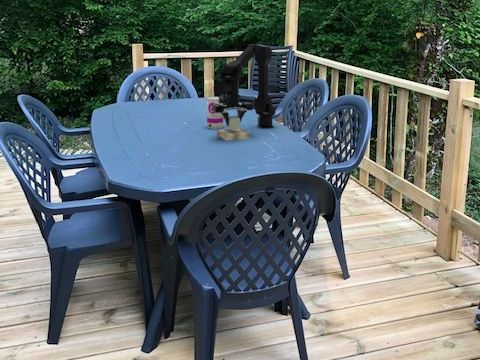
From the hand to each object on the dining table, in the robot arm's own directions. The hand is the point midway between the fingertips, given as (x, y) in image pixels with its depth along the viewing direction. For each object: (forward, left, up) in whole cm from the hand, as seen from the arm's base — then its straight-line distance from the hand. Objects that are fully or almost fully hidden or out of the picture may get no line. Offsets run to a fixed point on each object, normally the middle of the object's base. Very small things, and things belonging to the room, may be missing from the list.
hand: (232, 125), depth 267 cm
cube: (0, 0, -1) cm, 1 cm away
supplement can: (+1, -22, -6) cm, 23 cm away
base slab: (0, 0, -6) cm, 6 cm away
